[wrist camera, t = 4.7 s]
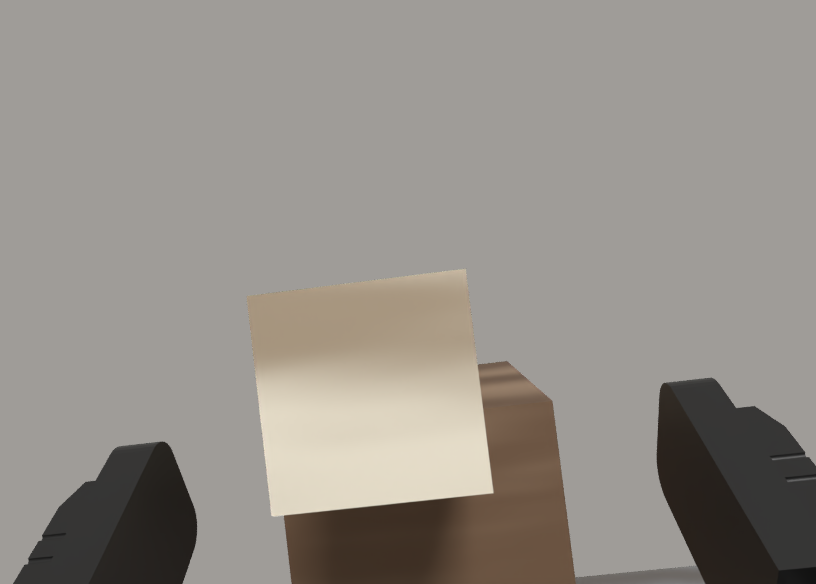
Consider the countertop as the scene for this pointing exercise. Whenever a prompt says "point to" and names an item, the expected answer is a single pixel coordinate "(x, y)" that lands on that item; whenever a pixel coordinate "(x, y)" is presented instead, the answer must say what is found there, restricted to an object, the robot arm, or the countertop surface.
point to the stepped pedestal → (466, 516)
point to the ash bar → (369, 393)
